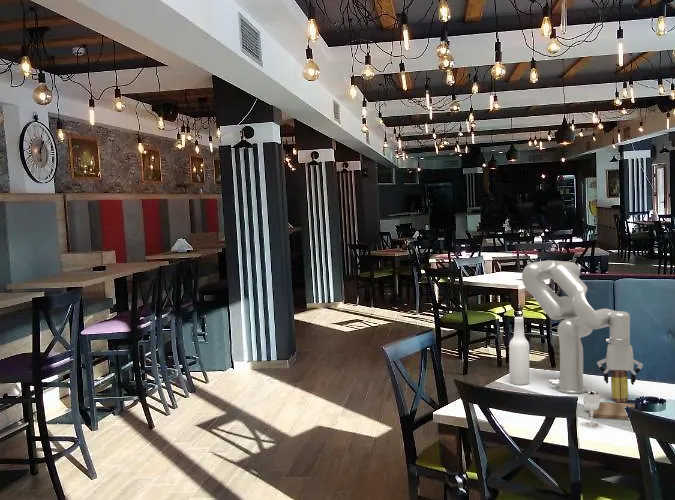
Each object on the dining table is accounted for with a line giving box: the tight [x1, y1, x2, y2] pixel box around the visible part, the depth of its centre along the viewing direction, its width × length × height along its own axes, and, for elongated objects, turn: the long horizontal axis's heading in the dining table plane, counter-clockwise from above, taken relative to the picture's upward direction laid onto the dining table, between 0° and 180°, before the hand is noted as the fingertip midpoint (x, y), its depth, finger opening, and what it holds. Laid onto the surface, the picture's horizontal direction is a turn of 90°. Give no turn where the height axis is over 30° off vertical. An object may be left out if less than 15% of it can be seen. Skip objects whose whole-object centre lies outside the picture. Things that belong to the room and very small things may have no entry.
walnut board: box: [587, 401, 636, 421], centre depth 258 cm, size 20×16×2 cm
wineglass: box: [583, 390, 601, 428], centre depth 245 cm, size 6×6×12 cm
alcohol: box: [508, 316, 531, 386], centre depth 301 cm, size 9×9×30 cm
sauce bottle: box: [610, 370, 629, 403], centre depth 272 cm, size 6×6×20 cm
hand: (619, 383), depth 272 cm, fingers open, 9 cm apart
